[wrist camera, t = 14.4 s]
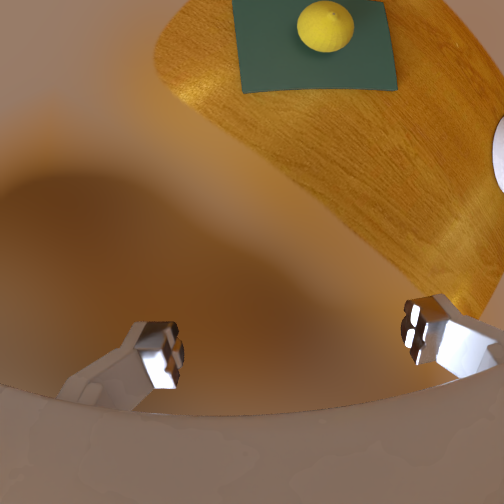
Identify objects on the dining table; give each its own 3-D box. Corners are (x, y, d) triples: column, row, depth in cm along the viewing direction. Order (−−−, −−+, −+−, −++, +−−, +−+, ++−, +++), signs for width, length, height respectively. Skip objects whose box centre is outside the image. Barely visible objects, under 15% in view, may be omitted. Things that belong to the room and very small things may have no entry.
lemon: (325, 10, 25) (341, -17, 18) (351, 48, 27) (375, 29, 20) (283, 28, 26) (290, 1, 19) (310, 66, 28) (325, 49, 21)
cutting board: (379, 6, 25) (383, 2, 24) (392, 91, 30) (398, 90, 29) (232, 4, 26) (231, -1, 25) (243, 93, 31) (242, 92, 30)
